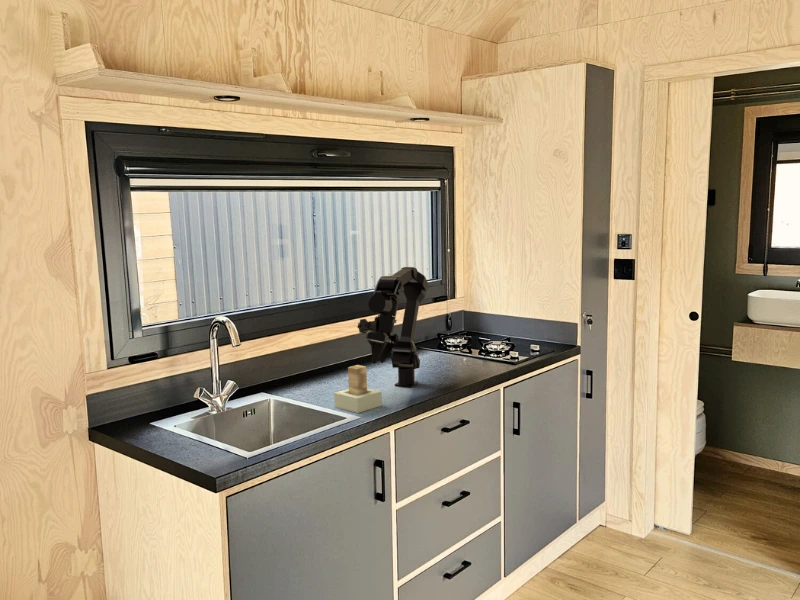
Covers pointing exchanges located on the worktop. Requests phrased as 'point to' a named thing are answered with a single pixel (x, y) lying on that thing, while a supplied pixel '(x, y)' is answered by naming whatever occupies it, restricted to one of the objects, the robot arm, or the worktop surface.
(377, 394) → the socket block
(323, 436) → the worktop surface
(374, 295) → the robot arm
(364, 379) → the peg
